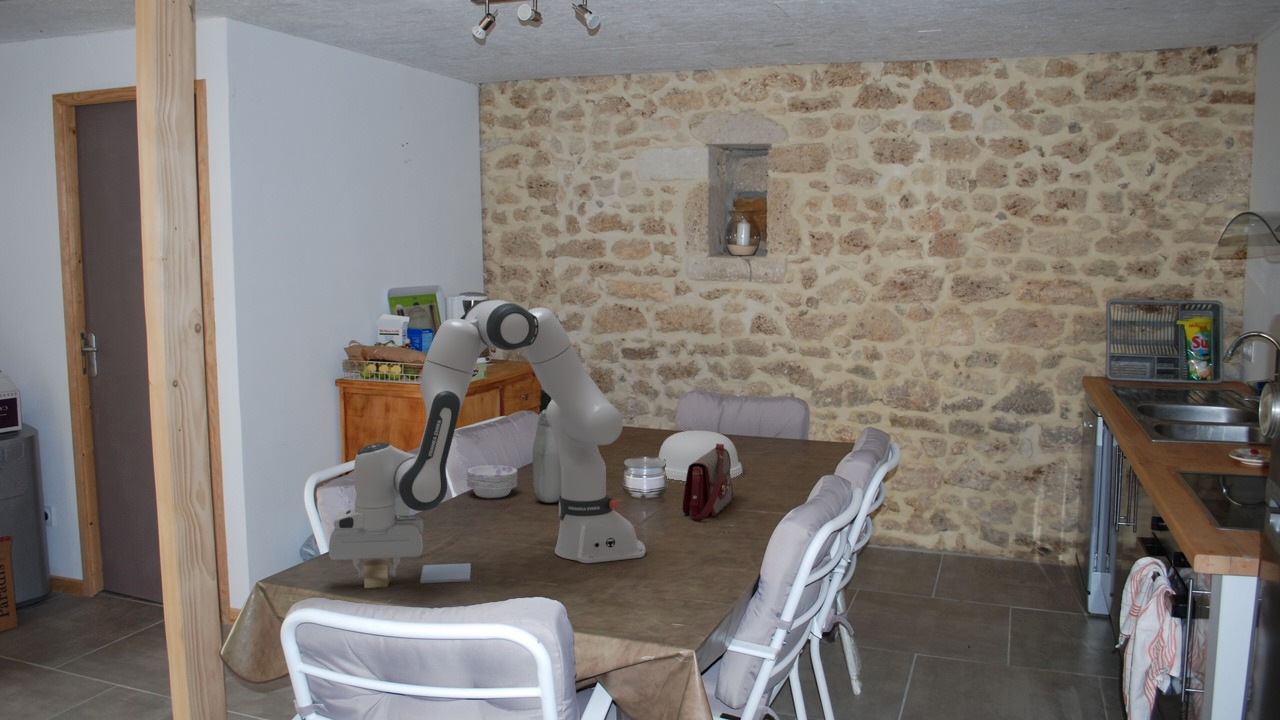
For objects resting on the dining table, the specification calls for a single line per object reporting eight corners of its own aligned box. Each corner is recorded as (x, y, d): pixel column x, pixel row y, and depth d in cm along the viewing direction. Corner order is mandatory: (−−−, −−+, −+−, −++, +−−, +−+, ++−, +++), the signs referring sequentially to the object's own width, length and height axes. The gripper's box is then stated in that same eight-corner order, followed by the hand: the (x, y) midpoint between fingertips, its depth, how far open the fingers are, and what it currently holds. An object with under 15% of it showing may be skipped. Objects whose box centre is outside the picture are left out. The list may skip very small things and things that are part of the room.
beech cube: (389, 579, 224) (389, 558, 223) (387, 587, 219) (387, 565, 218) (367, 580, 223) (366, 559, 222) (364, 588, 218) (363, 566, 217)
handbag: (713, 524, 271) (714, 462, 269) (676, 520, 274) (677, 459, 272) (738, 500, 297) (739, 443, 295) (704, 497, 300) (705, 441, 298)
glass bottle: (562, 507, 287) (562, 412, 284) (528, 505, 289) (528, 410, 286) (571, 498, 297) (571, 406, 294) (539, 496, 299) (538, 405, 296)
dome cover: (638, 467, 341) (638, 427, 340) (715, 460, 353) (716, 422, 351) (677, 488, 312) (678, 444, 310) (760, 480, 324) (761, 438, 322)
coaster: (470, 565, 234) (470, 563, 234) (470, 581, 223) (470, 578, 223) (423, 567, 232) (423, 565, 232) (420, 583, 221) (420, 580, 221)
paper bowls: (522, 489, 308) (522, 464, 307) (511, 501, 293) (511, 475, 292) (474, 488, 310) (474, 463, 309) (461, 500, 295) (460, 474, 294)
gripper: (424, 511, 224) (425, 570, 225) (330, 514, 221) (332, 574, 222) (422, 518, 218) (423, 579, 219) (326, 521, 214) (328, 583, 216)
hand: (377, 576), depth 221 cm, fingers closed on beech cube, 5 cm apart
